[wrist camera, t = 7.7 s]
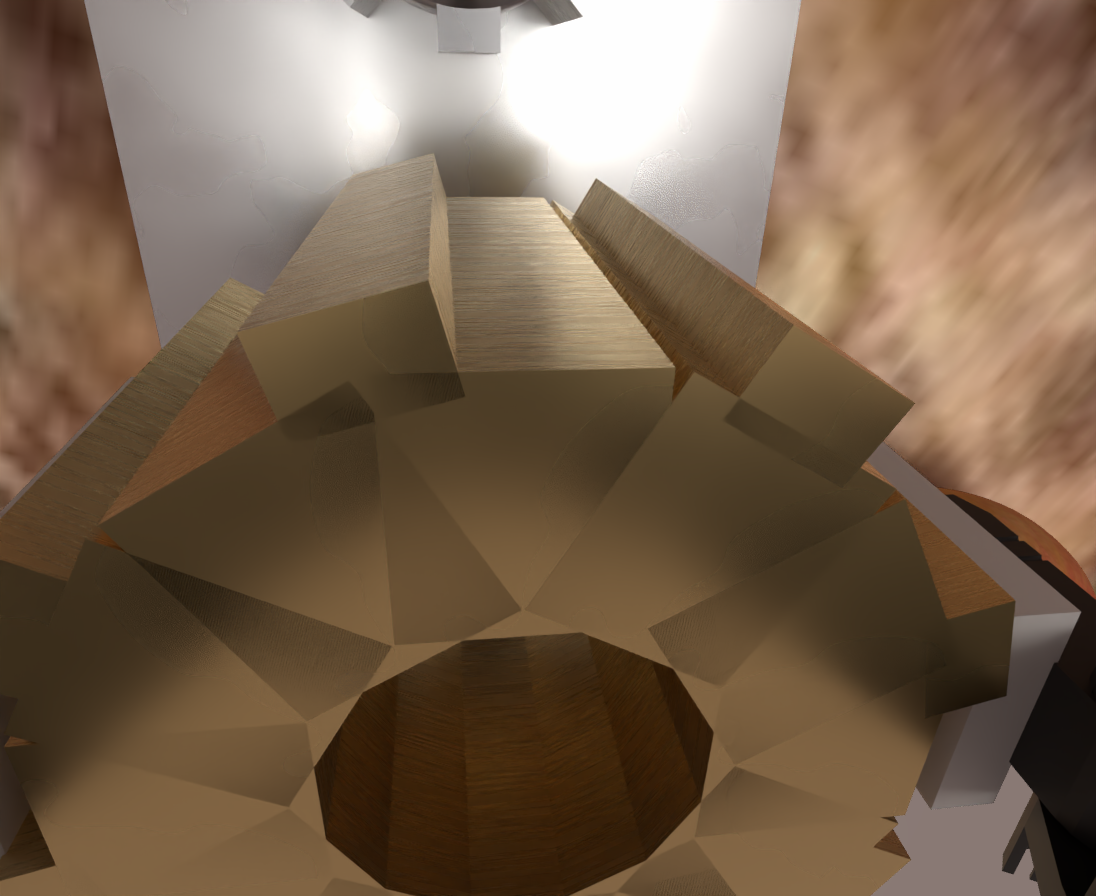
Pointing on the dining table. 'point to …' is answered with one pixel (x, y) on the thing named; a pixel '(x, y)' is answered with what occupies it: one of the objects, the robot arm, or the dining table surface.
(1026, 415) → the dining table surface
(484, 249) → the gear
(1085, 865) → the robot arm
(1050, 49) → the dining table surface
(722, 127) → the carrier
